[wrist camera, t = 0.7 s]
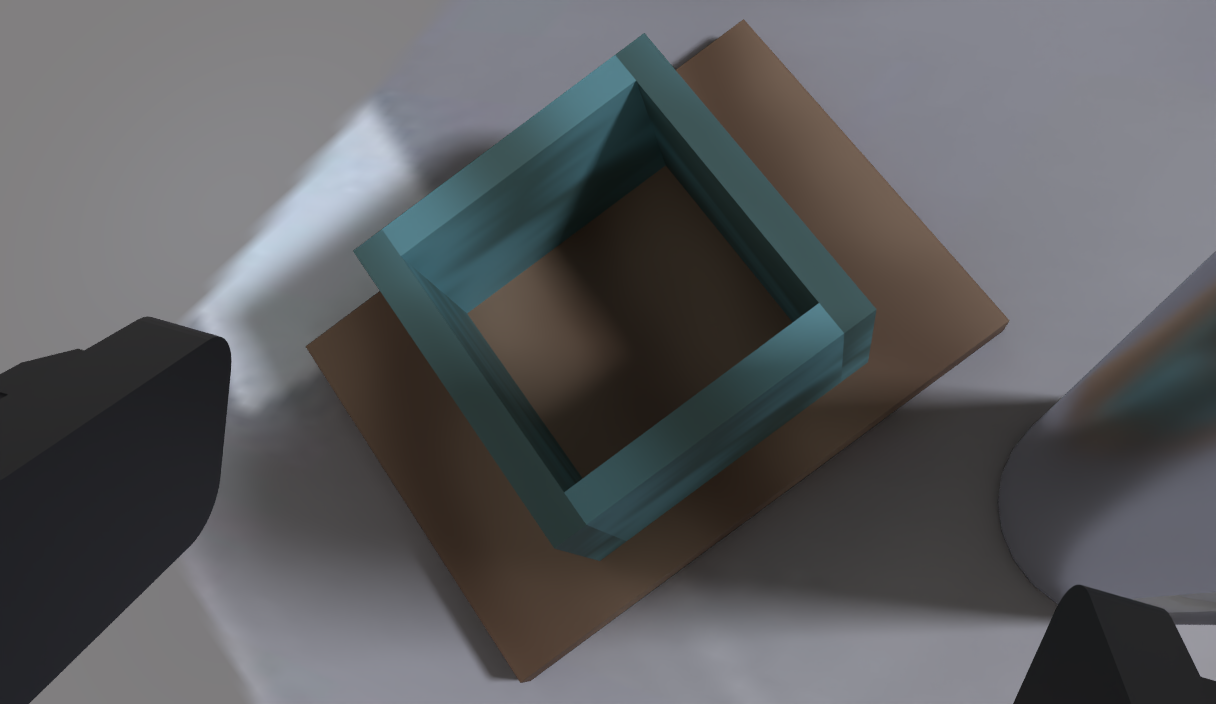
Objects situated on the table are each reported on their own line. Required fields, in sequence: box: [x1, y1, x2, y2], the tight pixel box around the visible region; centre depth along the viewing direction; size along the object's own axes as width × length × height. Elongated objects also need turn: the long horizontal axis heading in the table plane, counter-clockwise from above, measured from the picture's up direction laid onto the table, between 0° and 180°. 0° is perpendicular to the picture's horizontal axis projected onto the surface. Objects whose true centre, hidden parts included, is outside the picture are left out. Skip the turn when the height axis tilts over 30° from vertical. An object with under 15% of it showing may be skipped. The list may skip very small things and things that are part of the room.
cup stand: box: [306, 19, 1009, 683], centre depth 33 cm, size 18×13×7 cm
